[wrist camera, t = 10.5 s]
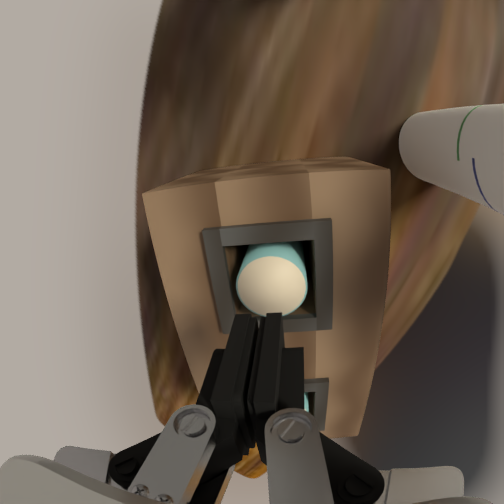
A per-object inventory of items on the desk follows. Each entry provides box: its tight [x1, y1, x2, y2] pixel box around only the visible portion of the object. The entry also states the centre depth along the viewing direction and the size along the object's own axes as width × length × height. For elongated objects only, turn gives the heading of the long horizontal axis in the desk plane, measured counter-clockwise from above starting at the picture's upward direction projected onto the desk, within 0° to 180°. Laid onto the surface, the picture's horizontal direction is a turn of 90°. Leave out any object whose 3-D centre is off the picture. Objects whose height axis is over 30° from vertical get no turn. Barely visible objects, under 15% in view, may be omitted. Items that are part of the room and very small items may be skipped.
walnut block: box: [142, 157, 391, 438], centre depth 24 cm, size 14×24×12 cm, turn 7°
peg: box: [236, 241, 307, 317], centre depth 21 cm, size 4×4×12 cm
